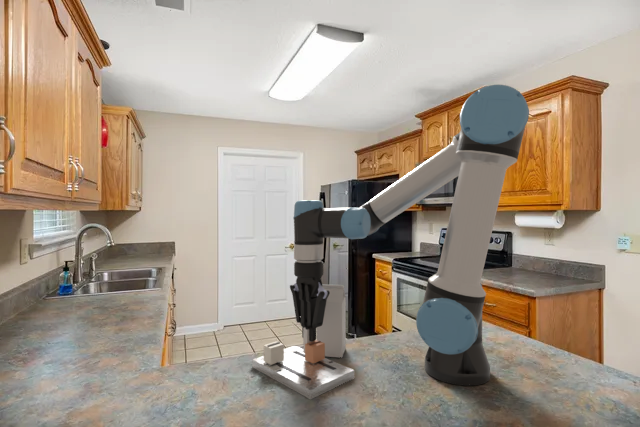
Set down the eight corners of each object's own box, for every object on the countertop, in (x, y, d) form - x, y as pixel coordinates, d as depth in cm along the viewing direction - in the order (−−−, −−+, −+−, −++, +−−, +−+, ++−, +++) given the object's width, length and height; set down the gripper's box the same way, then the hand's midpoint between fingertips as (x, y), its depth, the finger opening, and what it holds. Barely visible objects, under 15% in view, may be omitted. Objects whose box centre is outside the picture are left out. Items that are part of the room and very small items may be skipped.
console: (354, 378, 86) (354, 369, 86) (310, 399, 76) (310, 389, 76) (295, 352, 102) (294, 345, 102) (252, 367, 92) (252, 359, 92)
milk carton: (342, 358, 98) (342, 288, 98) (316, 356, 99) (316, 286, 99) (345, 348, 105) (345, 282, 105) (321, 346, 106) (321, 282, 106)
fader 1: (283, 360, 91) (283, 343, 91) (270, 364, 88) (270, 347, 88) (276, 356, 93) (276, 340, 93) (263, 361, 90) (263, 343, 90)
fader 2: (324, 358, 92) (324, 341, 92) (313, 363, 89) (313, 345, 89) (316, 355, 94) (316, 338, 94) (305, 359, 91) (305, 342, 91)
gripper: (337, 261, 91) (337, 355, 91) (303, 257, 100) (303, 342, 100) (315, 264, 86) (315, 364, 86) (281, 259, 95) (282, 349, 95)
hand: (309, 352), depth 93 cm, fingers closed
